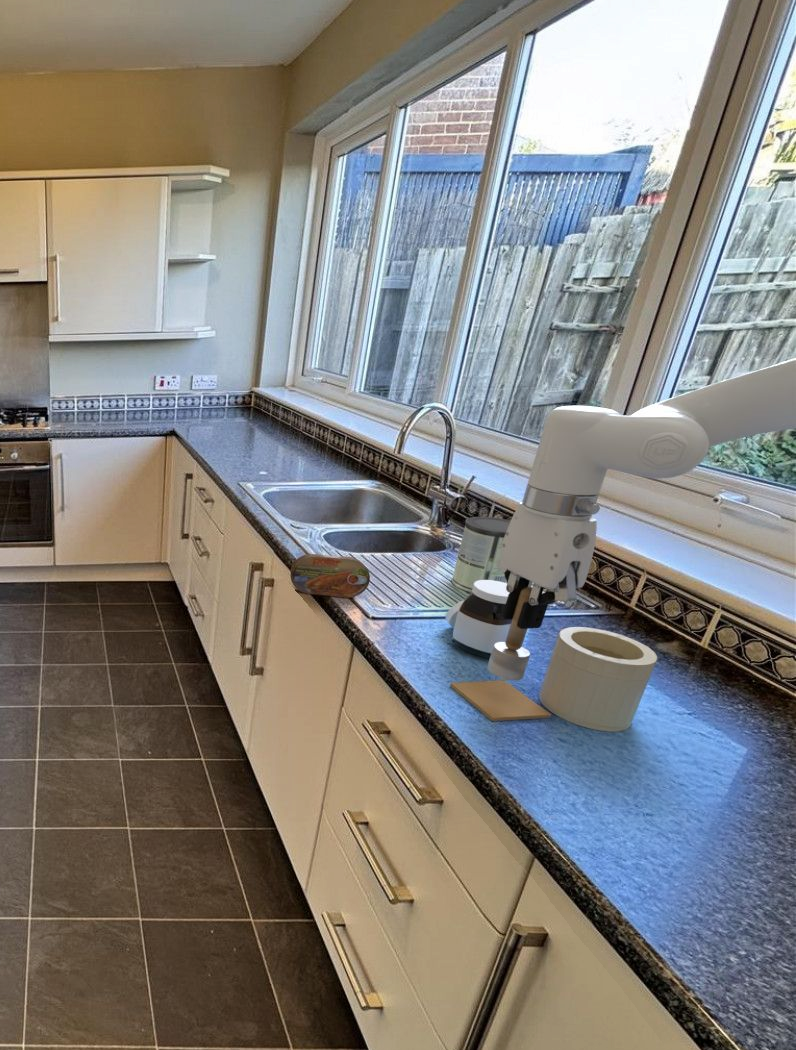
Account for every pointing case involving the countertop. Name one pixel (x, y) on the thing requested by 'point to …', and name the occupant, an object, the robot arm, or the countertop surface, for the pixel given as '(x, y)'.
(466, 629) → the spread jar
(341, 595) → the tin
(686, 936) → the countertop surface
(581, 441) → the robot arm
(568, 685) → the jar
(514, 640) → the round handled stamp
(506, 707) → the mat
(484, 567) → the coffee can
